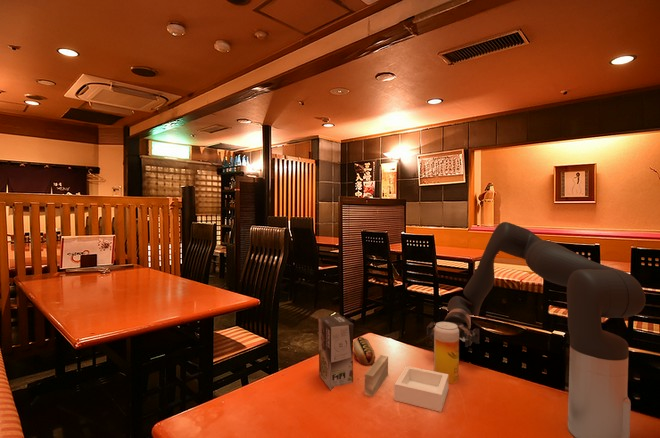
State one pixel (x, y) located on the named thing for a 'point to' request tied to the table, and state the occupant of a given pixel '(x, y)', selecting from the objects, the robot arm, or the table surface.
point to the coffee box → (335, 350)
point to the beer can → (447, 350)
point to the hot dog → (364, 351)
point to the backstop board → (376, 375)
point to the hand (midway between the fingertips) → (449, 340)
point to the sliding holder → (422, 388)
